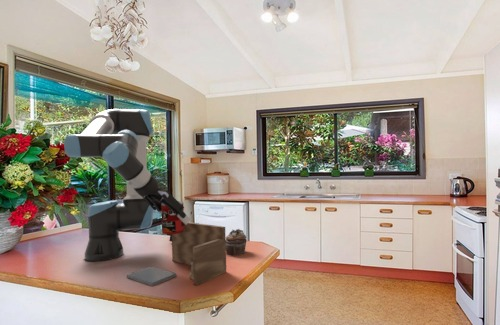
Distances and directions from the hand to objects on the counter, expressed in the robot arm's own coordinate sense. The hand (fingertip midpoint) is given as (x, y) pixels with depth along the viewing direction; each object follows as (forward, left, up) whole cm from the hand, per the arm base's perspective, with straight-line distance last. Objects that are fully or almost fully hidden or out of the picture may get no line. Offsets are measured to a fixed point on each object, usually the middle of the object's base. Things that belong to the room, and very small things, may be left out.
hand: (179, 220), depth 118 cm
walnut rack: (+5, -3, -17) cm, 18 cm away
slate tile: (0, -13, -17) cm, 22 cm away
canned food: (0, -3, -4) cm, 5 cm away
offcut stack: (+14, -3, -17) cm, 23 cm away
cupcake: (+7, +25, -18) cm, 31 cm away
